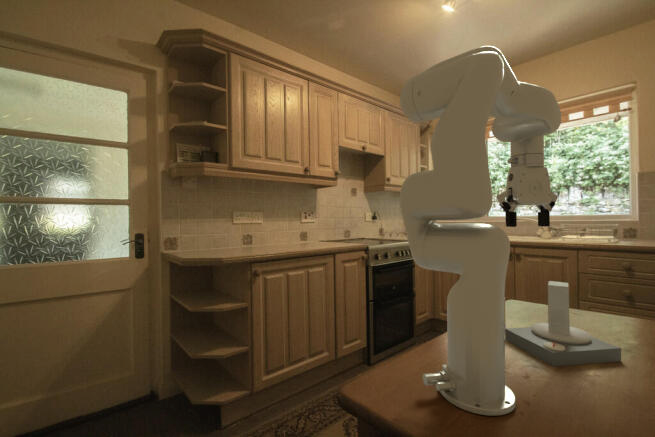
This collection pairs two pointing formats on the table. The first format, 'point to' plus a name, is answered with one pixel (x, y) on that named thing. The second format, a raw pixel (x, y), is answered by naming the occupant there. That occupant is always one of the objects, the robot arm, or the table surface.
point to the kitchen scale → (562, 346)
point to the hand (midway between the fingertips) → (527, 226)
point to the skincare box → (558, 308)
